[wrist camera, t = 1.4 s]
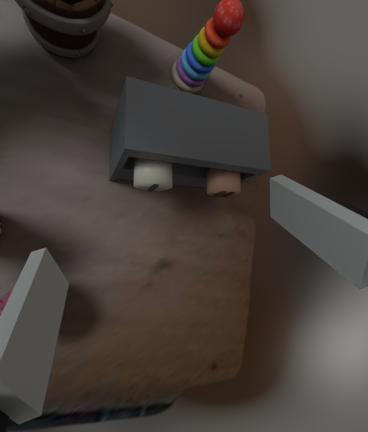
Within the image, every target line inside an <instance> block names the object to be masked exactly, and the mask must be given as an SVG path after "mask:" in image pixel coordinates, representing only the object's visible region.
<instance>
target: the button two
mask: <svg viewBox="0 0 368 432" xmlns="http://www.w3.org/2000/svg"><path fill="white" fill-rule="evenodd" d="M206 179H207V195H209V196H213V197H228V196H234V195H238V194H240V193H241V179H240V172H236V171H229V170H222V169H215V168H211V169H209V170H207V172H206Z"/></svg>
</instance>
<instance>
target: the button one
mask: <svg viewBox="0 0 368 432" xmlns="http://www.w3.org/2000/svg"><path fill="white" fill-rule="evenodd" d="M134 187H135V188H137V189H140V190H145V191H164V190H169V189H171V188H172V162H165V161H158V160H151V159H144V158H135V159H134Z"/></svg>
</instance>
